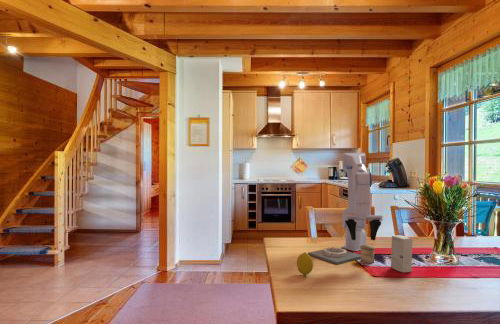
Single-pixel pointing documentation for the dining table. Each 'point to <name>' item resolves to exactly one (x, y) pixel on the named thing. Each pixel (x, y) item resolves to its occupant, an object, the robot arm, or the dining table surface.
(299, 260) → the lemon
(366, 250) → the cup
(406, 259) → the skincare box
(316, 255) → the collar board
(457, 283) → the dining table surface
